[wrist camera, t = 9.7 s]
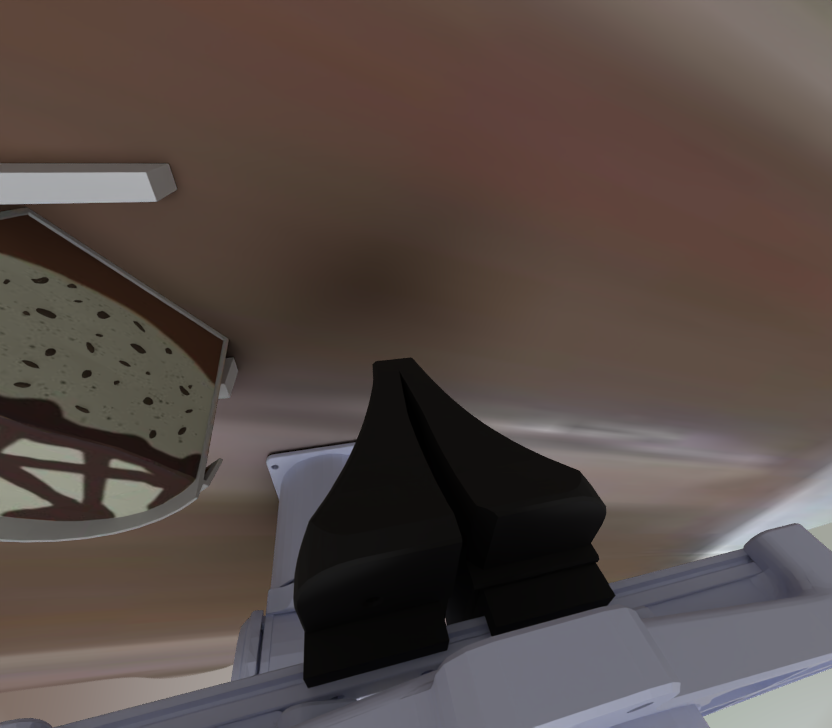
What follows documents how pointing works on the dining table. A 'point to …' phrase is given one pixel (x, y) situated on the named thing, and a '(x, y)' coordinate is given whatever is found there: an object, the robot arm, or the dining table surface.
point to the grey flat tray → (94, 196)
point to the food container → (96, 391)
